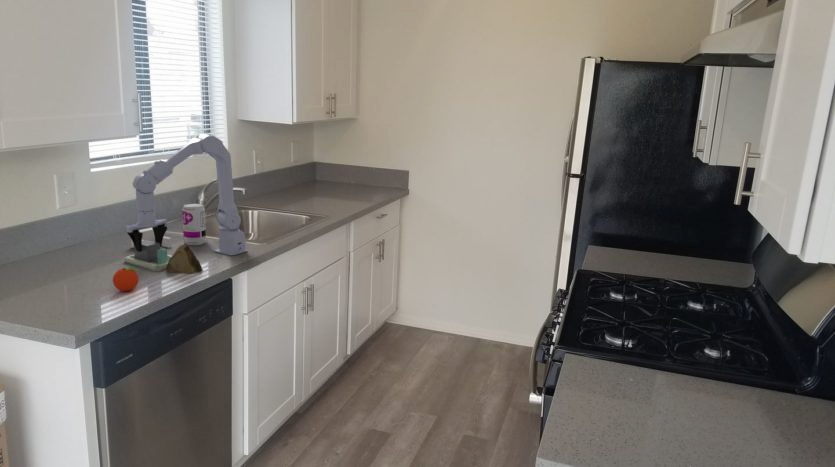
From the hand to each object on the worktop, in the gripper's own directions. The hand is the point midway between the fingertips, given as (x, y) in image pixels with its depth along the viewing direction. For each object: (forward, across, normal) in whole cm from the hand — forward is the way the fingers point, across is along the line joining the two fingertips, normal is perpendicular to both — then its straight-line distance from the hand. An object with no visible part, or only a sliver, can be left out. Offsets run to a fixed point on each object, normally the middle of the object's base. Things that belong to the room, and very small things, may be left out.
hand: (148, 248), depth 208 cm
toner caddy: (+4, 0, +2) cm, 4 cm away
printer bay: (+5, -12, -16) cm, 20 cm away
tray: (+5, 0, +3) cm, 5 cm away
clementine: (+5, +22, +21) cm, 31 cm away
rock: (+5, 0, +18) cm, 18 cm away
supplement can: (+5, -26, -8) cm, 28 cm away
